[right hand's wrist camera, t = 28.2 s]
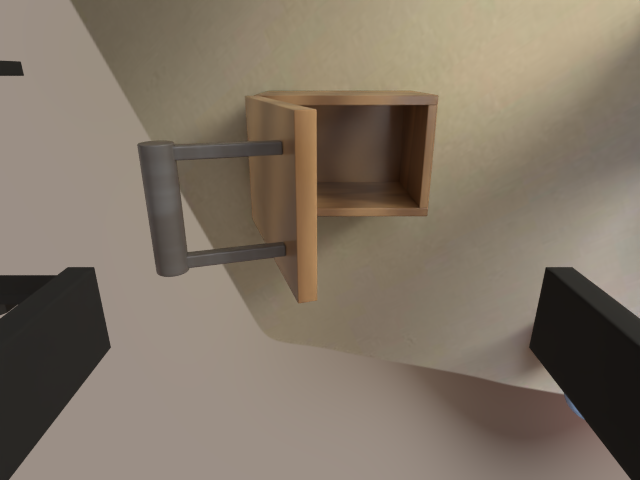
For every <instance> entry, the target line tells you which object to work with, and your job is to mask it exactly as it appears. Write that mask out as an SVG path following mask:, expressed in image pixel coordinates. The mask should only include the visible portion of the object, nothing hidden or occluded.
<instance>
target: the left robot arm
mask: <svg viewBox="0 0 640 480" xmlns="http://www.w3.org/2000/svg"><path fill="white" fill-rule="evenodd" d="M23 75H24V74H23V70H22V65H21V62H16V61H0V76H23ZM56 276H57V275H0V315H2V314H5V313H7V312H9V311H10V310H11V309H12V308H14V307H15V306H16V305H19V304H20V303H21V302H23V301H24V300H25V299H27V298H28V297H29V296H31V295H32V294H33V293H35V292H36V291H37V290H39V289H40V288H41V287H43V286H44V285H45V284H46V283H48V282H49V281H50V280H52V279H53V278H54V277H56Z"/></svg>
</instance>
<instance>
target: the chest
mask: <svg viewBox="0 0 640 480" xmlns="http://www.w3.org/2000/svg"><path fill="white" fill-rule="evenodd" d="M254 96H262V97H266V98H270V99H274V100H278V101H283V102H287V103H291V104H295V105H299V106H304V107H308V108H312V109H316V111H317V216H427V212H428V202H429V191H430V180H431V169H432V159H433V148H434V137H435V127H436V116H437V105H438V95H433V94H427V93H421V92H415V91H267V92H264V93H260V94H257V95H254Z"/></svg>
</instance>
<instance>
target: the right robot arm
mask: <svg viewBox="0 0 640 480" xmlns="http://www.w3.org/2000/svg"><path fill="white" fill-rule="evenodd" d="M110 348H111V346H110V341H109V337H108V332H107V327H106V322H105V318H104V313H103V308H102V303H101V298H100V293H99V289H98V284H97V279H96V274H95V269H94V267H68V268H66V269H65V270H64V271H62V272H61V273H60V274H58V275H57V276H56V277H54V278H53V279H52V280H50V281H49V282H48V283H46V284H45V285H44V286H43V287H41V288H40V289H39V290H37V291H36V292H35V293H33V294H32V295H31V296H29V297H28V298H27V299H25V300H24V301H23V302H21V303H20V304H19V305H17V306H16V307H15V308H14V309H12V310H11V311H10V312H8V313H7V314H6V315H4V316H3V317H2V318H0V480H9V479H10V478H11V476H12V475H13V474H14V472H15V471H16V470H17V468H18V467H19V466H20V465H21V463H22V462H23V461H24V459H25V458H26V457H27V455H28V454H29V453H30V451H31V450H32V449H33V448H34V446H35V445H36V444H37V442H38V441H39V440H40V439H41V437H42V436H43V435H44V433H45V432H46V431H47V429H48V428H49V427H50V426H51V424H52V423H53V422H54V420H55V419H56V418H57V417H58V415H59V414H60V413H61V411H62V410H63V409H64V407H65V406H66V405H67V404H68V402H69V401H70V400H71V398H72V397H73V396H74V394H75V393H76V392H77V391H78V389H79V388H80V387H81V385H82V384H83V383H84V381H85V380H86V379H87V378H88V376H89V375H90V374H91V372H92V371H93V370H94V368H95V367H96V366H97V365H98V363H99V362H100V361H101V359H102V358H103V357H104V355H105V354H106V353H107V352H108V350H109V349H110ZM529 348H530V349H531V350H532V352H533V353H534V354H535V355H536V357H537V358H538V359H539V361H540V362H541V363H542V365H543V366H544V367H545V368H546V370H547V371H548V372H549V374H550V375H551V376H552V378H553V379H554V380H555V381H556V383H557V384H558V385H559V387H560V388H561V389H562V391H563V392H564V393H565V394H566V396H567V397H568V398H569V400H570V401H571V402H572V404H573V405H574V406H575V407H576V409H577V410H578V411H579V413H580V414H581V415H582V417H583V418H584V419H585V420H586V422H587V423H588V424H589V426H590V427H591V428H592V429H593V431H594V432H595V433H596V435H597V436H598V437H599V439H600V440H601V441H602V442H603V444H604V445H605V446H606V448H607V449H608V450H609V452H610V453H611V454H612V455H613V457H614V458H615V459H616V461H617V462H618V463H619V465H620V466H621V467H622V468H623V470H624V471H625V472H626V474H627V475H628V476H629V478H630V479H631V480H640V318H638V317H637V316H636V315H634V314H633V313H632V312H630V311H629V310H628V309H626V308H625V307H624V306H623V305H621V304H620V303H619V302H617V301H616V300H615V299H613V298H612V297H611V296H609V295H608V294H607V293H605V292H604V291H603V290H601V289H600V288H599V287H597V286H596V285H595V284H594V283H592V282H591V281H590V280H588V279H587V278H586V277H584V276H583V275H582V274H580V273H579V272H578V271H576V270H575V269H574V268H572V267H546V269H545V274H544V279H543V284H542V288H541V293H540V298H539V303H538V308H537V313H536V317H535V322H534V327H533V332H532V337H531V341H530V346H529Z"/></svg>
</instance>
